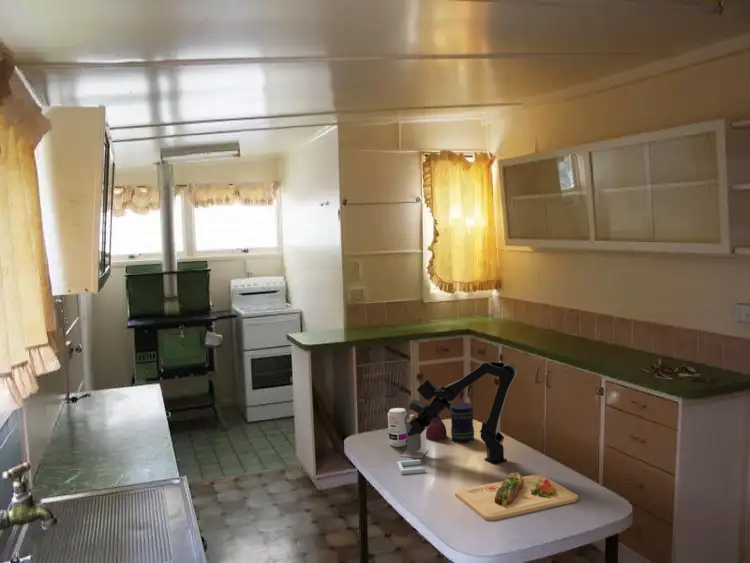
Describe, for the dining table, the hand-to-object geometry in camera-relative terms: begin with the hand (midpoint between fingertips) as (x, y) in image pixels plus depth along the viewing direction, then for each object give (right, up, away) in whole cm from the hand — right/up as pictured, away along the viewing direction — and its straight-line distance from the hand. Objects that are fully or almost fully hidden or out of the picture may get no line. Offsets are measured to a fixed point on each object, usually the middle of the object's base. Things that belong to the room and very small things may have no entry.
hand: (410, 433), depth 267 cm
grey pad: (+2, -8, 0) cm, 8 cm away
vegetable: (+13, -6, +20) cm, 24 cm away
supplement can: (-4, -8, +13) cm, 16 cm away
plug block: (+2, -6, 0) cm, 6 cm away
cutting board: (+33, -11, -47) cm, 59 cm away
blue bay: (0, -10, -16) cm, 19 cm away
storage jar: (+24, -6, +14) cm, 28 cm away
